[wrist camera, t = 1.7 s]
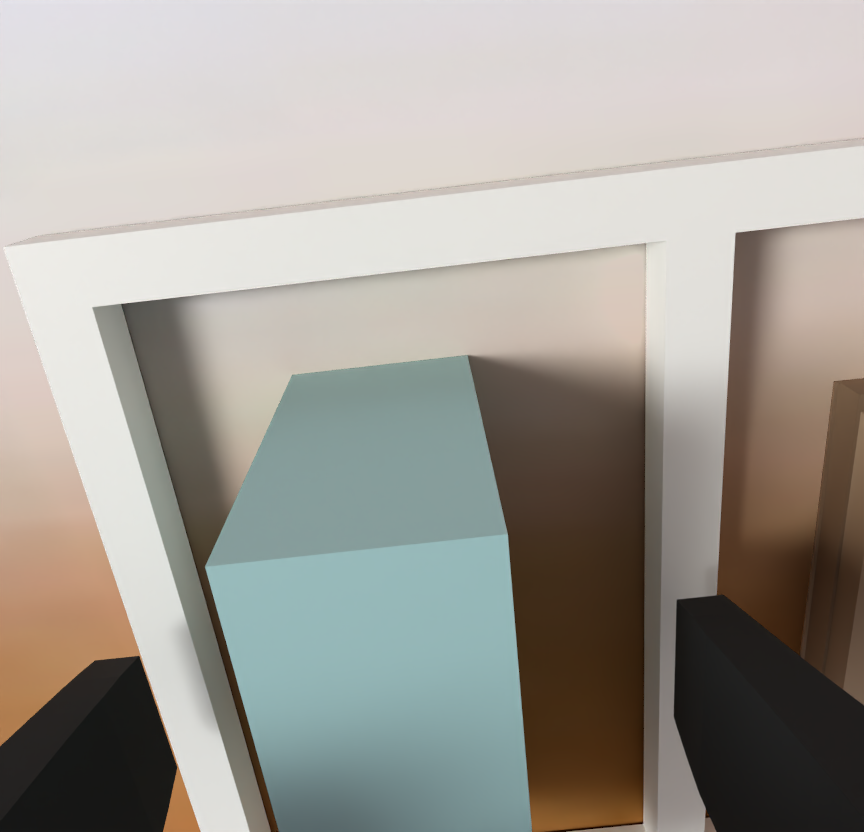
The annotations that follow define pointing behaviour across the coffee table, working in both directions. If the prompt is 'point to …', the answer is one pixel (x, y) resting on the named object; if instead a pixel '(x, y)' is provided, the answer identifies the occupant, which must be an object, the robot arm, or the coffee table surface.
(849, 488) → the offcut stack
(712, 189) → the rack
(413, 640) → the pale teal block
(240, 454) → the coffee table surface
